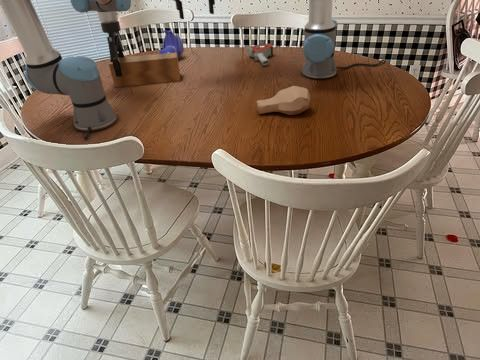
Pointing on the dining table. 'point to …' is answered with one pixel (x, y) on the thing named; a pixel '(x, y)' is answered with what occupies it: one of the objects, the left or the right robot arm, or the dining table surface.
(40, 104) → the dining table surface
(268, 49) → the tape dispenser
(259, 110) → the squash
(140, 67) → the box
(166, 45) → the toy
